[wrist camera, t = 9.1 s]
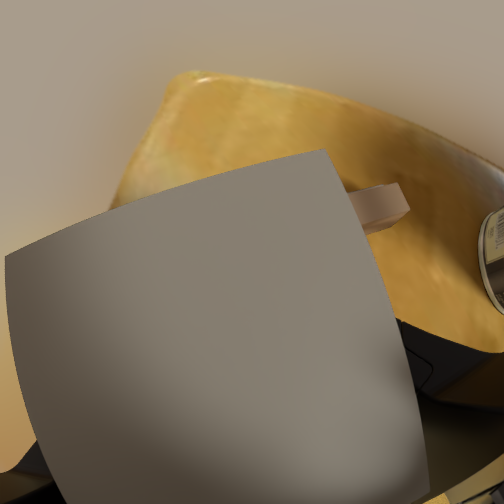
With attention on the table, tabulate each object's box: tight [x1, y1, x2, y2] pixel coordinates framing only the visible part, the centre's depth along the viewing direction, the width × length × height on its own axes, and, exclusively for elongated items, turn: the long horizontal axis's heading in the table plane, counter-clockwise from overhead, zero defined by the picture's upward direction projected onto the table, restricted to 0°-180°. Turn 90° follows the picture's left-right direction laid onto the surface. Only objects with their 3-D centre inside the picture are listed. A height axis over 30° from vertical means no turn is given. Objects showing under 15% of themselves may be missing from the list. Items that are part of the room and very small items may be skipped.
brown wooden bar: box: [347, 183, 410, 235], centre depth 17 cm, size 18×3×3 cm, turn 107°
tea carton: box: [5, 149, 430, 504], centre depth 9 cm, size 6×6×12 cm
